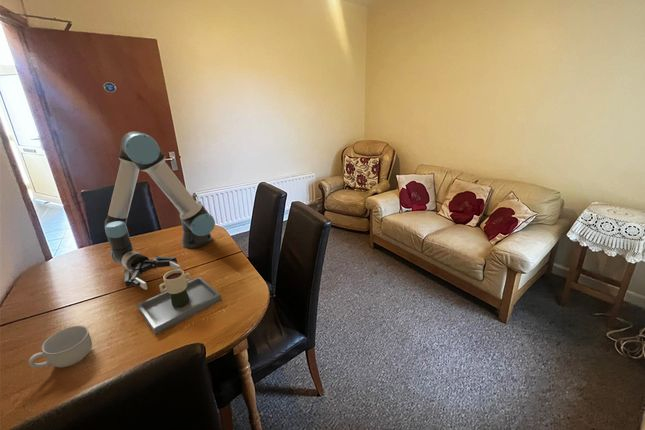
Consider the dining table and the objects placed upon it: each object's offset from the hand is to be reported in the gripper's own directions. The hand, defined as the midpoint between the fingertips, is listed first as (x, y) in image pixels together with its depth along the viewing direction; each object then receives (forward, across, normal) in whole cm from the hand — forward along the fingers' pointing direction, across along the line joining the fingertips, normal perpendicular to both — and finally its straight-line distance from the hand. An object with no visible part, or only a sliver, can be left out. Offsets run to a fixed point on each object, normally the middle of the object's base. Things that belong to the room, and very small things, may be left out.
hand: (163, 277), depth 111 cm
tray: (+9, 0, -10) cm, 13 cm away
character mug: (+9, 0, -9) cm, 12 cm away
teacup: (+2, +34, -10) cm, 35 cm away
